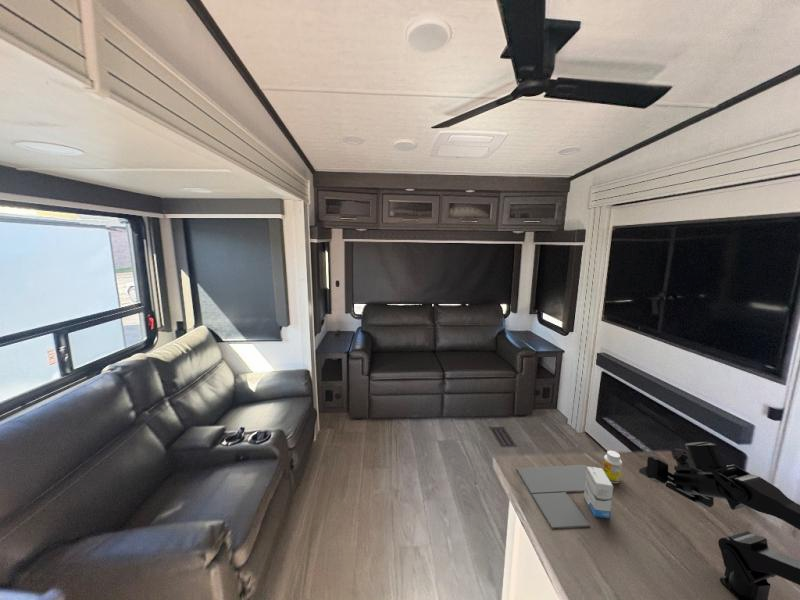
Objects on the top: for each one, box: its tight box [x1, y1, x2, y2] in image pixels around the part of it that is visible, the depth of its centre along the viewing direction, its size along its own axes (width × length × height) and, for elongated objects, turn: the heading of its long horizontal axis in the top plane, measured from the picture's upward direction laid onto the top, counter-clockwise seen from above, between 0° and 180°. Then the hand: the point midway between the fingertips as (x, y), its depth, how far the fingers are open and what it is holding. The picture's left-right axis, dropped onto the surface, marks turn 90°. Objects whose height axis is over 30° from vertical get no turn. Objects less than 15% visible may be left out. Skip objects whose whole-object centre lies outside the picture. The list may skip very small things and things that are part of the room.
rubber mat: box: [516, 464, 591, 530], centre depth 107 cm, size 26×28×1 cm
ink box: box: [583, 465, 614, 519], centre depth 101 cm, size 8×5×12 cm, turn 168°
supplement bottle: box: [602, 450, 623, 484], centre depth 113 cm, size 6×6×10 cm
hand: (652, 477), depth 96 cm, fingers open, 9 cm apart
